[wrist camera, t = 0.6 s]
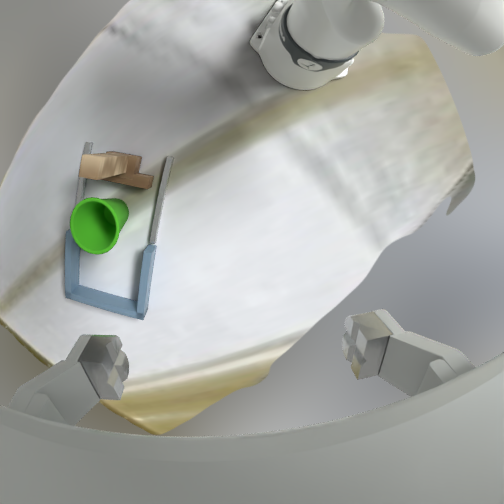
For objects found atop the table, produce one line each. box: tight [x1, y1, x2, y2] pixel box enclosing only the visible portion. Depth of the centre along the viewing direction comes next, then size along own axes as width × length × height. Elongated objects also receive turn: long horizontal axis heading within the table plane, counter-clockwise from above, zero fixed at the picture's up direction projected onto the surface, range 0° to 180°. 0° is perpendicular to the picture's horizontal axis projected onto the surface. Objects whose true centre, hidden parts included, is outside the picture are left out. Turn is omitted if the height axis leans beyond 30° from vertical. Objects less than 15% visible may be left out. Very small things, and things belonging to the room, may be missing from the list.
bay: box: [65, 229, 157, 320], centre depth 50 cm, size 14×18×4 cm
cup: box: [70, 197, 129, 254], centre depth 43 cm, size 9×9×11 cm
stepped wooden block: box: [79, 151, 154, 189], centre depth 39 cm, size 5×12×15 cm, turn 74°
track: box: [76, 142, 174, 244], centre depth 47 cm, size 16×18×1 cm
